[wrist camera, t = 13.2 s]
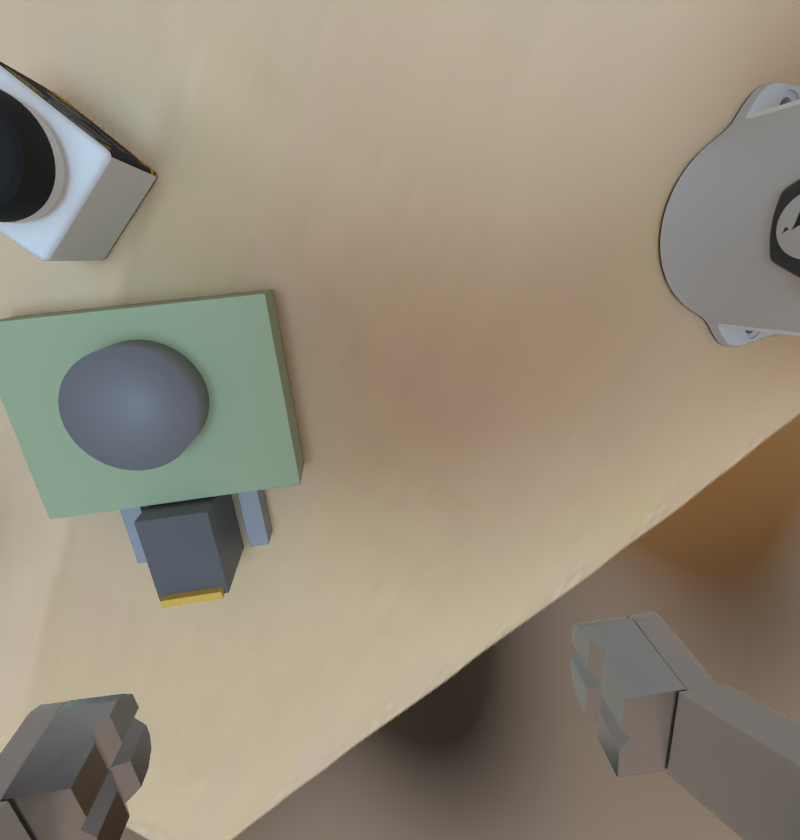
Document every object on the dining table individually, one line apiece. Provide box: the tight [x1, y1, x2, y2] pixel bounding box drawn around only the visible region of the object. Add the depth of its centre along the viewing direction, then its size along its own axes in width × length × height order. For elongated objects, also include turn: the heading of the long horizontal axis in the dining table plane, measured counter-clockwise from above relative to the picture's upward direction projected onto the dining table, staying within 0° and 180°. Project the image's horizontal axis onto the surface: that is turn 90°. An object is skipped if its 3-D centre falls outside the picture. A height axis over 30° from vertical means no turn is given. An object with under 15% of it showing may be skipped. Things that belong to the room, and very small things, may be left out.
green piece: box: [0, 290, 304, 563], centre depth 34 cm, size 18×20×7 cm
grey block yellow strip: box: [134, 494, 244, 608], centre depth 37 cm, size 5×7×7 cm
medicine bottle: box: [0, 62, 156, 261], centre depth 25 cm, size 7×7×12 cm
